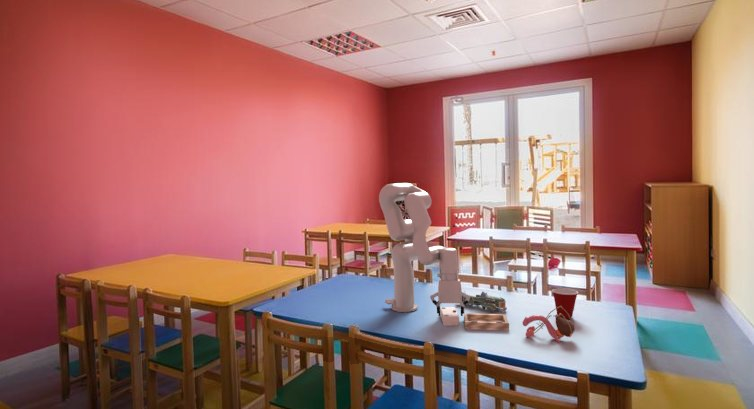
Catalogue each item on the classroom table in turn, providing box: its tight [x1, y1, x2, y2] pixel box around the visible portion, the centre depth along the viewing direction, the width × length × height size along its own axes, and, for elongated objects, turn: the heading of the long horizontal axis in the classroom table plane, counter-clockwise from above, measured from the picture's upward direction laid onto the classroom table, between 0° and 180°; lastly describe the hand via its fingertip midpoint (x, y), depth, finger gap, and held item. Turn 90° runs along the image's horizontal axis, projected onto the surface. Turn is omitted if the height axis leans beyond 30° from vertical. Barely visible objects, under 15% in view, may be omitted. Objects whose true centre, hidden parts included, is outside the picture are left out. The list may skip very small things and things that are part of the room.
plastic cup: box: [551, 288, 579, 320], centre depth 187 cm, size 11×11×12 cm
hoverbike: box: [462, 290, 508, 313], centre depth 202 cm, size 10×25×8 cm, turn 54°
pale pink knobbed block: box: [440, 306, 460, 326], centre depth 187 cm, size 13×6×4 cm, turn 178°
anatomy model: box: [522, 306, 575, 344], centre depth 164 cm, size 11×15×17 cm
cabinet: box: [463, 312, 510, 331], centre depth 180 cm, size 17×11×3 cm, turn 81°
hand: (450, 315), depth 186 cm, fingers open, 9 cm apart
